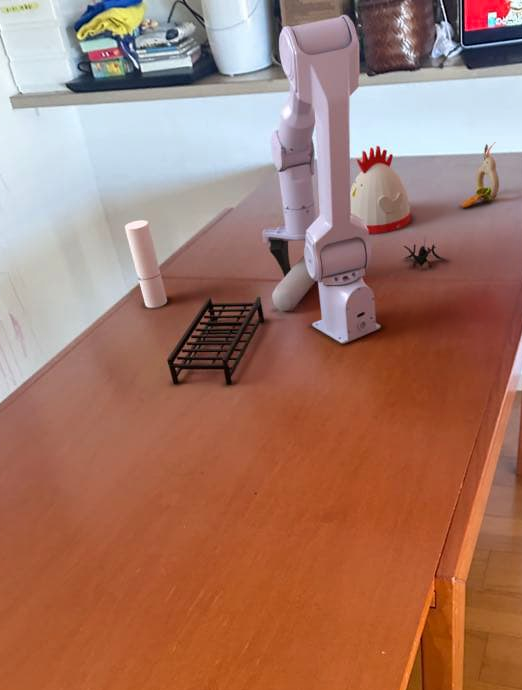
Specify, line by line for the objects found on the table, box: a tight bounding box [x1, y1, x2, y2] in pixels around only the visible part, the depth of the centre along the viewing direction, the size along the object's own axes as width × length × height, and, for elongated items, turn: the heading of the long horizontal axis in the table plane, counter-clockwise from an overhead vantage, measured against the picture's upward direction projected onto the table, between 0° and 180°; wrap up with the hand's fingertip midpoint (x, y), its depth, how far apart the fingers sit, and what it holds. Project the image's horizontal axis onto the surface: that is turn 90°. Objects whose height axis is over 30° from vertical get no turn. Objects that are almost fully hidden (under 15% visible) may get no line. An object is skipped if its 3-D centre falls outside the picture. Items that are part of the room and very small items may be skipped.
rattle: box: [461, 143, 500, 209], centre depth 163 cm, size 8×8×12 cm
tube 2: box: [271, 255, 317, 312], centre depth 144 cm, size 5×5×25 cm
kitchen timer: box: [350, 145, 411, 234], centre depth 161 cm, size 14×14×15 cm
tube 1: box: [124, 219, 168, 309], centre depth 143 cm, size 4×4×15 cm
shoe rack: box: [166, 296, 265, 386], centre depth 128 cm, size 10×22×4 cm, turn 167°
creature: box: [403, 236, 445, 268], centre depth 145 cm, size 8×5×8 cm
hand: (306, 278), depth 144 cm, fingers open, 7 cm apart
